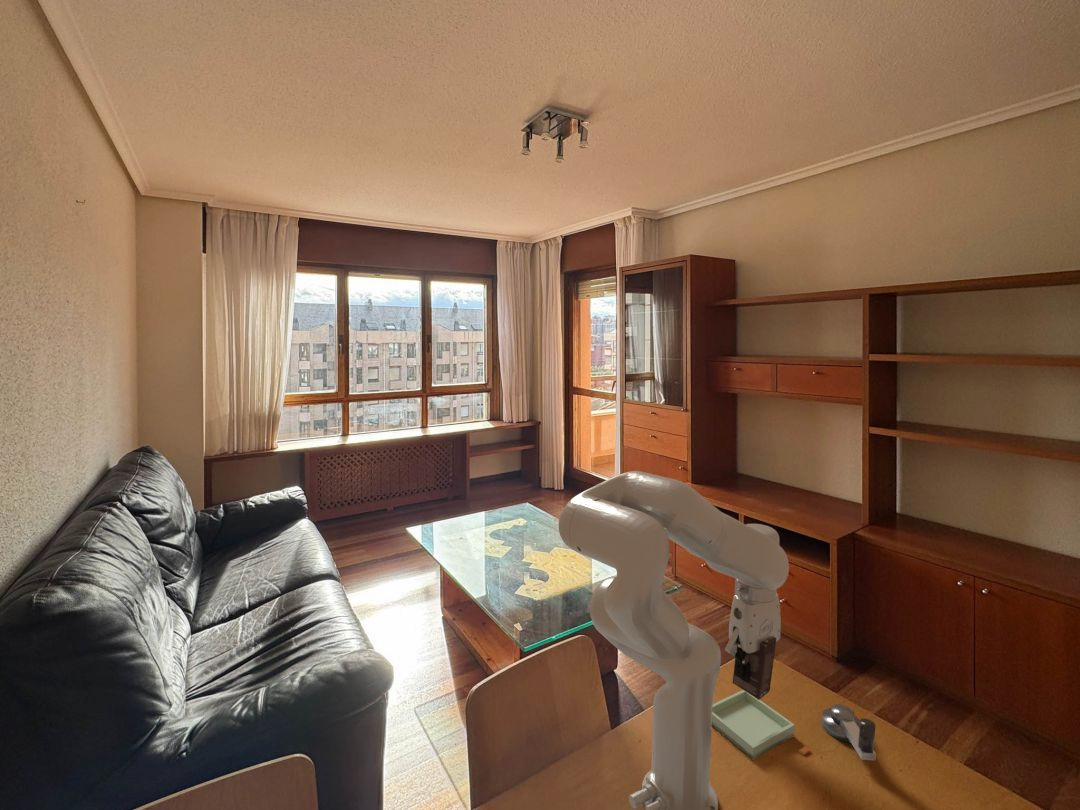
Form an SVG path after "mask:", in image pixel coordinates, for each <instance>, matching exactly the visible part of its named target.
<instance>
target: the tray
mask: <svg viewBox="0 0 1080 810" xmlns="http://www.w3.org/2000/svg"><path fill="white" fill-rule="evenodd" d="M712 727H713V728H714V729H716V731H717V732H718V733H720V734H721V735H723V736H724V737H725V738H726V739H727V740H729V741H730V742H731V743H732V744H733V745H734V746H735V747H737V748H738V750H740V751H741V752H743V753H744V754H745V755H746V756H748V757H749V759H751V760H752V761H754V760H755V759H757V758H758V757H761V756H762V755H764V754H766V753H767V752H770V751H771V750H773V749H774V748H776V747H778V746H779V745H781V744H782V743H783V744H784V742H786V741H788V740H790V739H792V738H793V737H794V736H795V724H794V723H793V722H792V721H790V720H789V719H788V718H786V717H785V716H783V715H782V714H780V713H779V712H778V711H776V710H775V709H773V708H772V707H770V706H769V705H768V704H767V703H765V702H764V701H762V699H760V700H758V699H756V698H755V697H754V696H752V695H750V694H749V693H747V692H746V691H744V690H743V689H742V690H740V691H738V692H735V693H733V694H731V695H729V696H727V697H725V698H723V699H720V700H719V701H717V702H715V703H714V702H713V708H712Z"/></svg>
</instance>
